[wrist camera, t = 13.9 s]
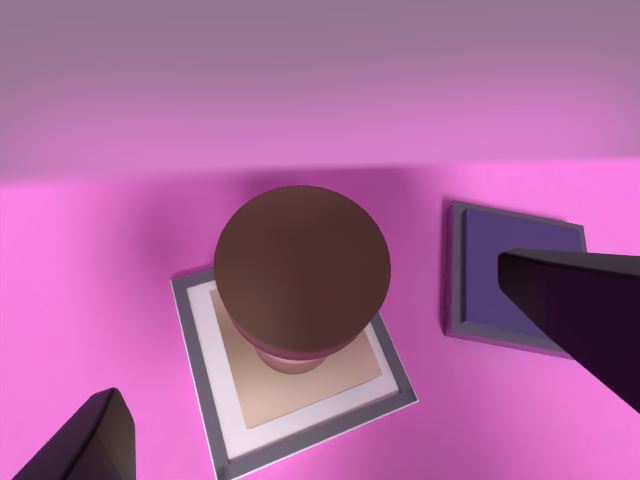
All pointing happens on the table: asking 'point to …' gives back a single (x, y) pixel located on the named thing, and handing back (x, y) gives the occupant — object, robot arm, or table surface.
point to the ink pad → (496, 274)
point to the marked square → (289, 430)
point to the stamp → (298, 298)
